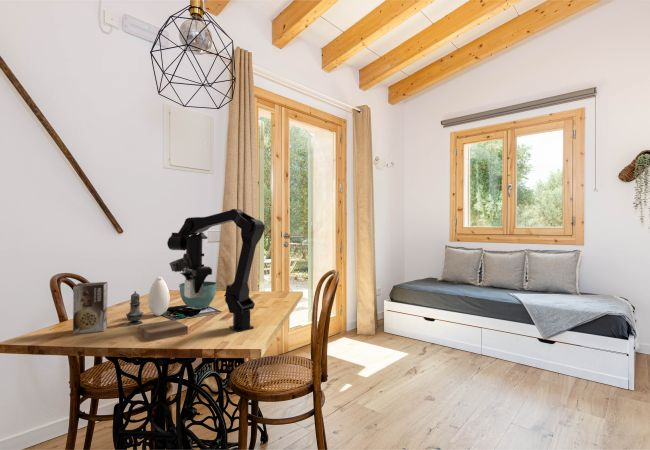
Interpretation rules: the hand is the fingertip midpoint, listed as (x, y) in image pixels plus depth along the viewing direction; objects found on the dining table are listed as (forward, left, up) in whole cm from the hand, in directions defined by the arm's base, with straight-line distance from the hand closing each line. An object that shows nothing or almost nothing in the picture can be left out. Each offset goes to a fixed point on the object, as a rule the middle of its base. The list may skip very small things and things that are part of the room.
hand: (193, 292), depth 135 cm
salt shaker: (+13, +16, -12) cm, 24 cm away
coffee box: (+13, +31, -12) cm, 35 cm away
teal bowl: (+23, -12, -12) cm, 29 cm away
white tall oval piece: (+20, +6, -12) cm, 24 cm away
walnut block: (-7, +13, -12) cm, 19 cm away
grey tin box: (0, 0, -2) cm, 2 cm away
